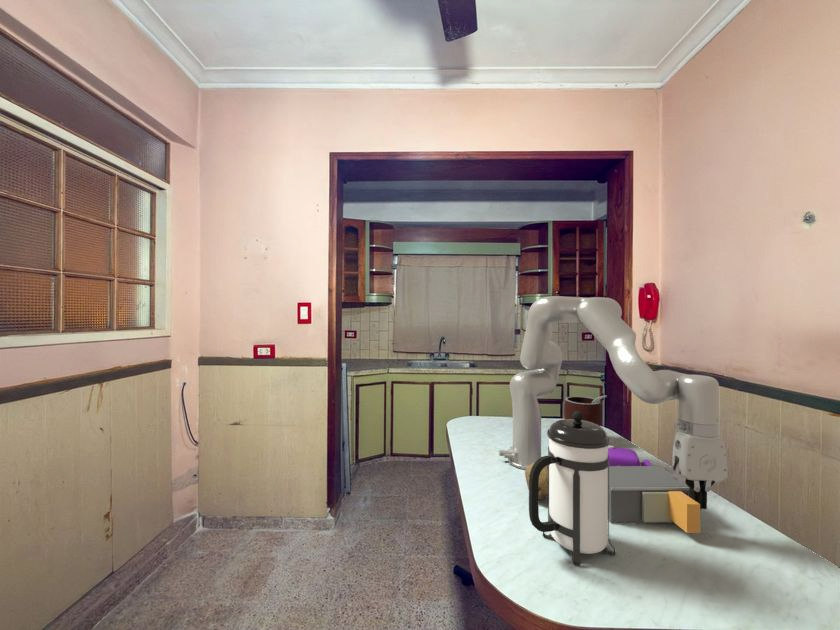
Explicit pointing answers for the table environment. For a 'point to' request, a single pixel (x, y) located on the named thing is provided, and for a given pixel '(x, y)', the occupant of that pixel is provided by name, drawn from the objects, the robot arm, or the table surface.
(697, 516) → the orange block handle
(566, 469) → the coffee press
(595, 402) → the mate gourd
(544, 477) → the natural sponge
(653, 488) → the box
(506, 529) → the table surface
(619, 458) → the toy camera
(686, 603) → the table surface
